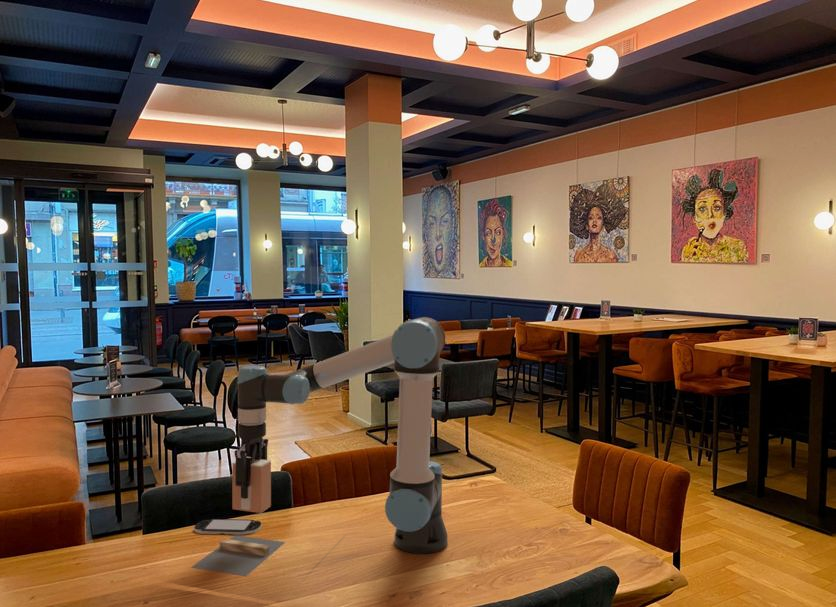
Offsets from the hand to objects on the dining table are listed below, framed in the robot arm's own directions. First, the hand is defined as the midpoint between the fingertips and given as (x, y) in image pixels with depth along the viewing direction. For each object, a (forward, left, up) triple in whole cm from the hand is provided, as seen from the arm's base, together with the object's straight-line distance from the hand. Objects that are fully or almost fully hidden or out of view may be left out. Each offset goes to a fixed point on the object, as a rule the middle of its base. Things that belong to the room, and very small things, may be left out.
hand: (251, 505), depth 166 cm
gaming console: (+13, -8, -13) cm, 20 cm away
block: (0, 0, -1) cm, 1 cm away
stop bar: (0, +4, -11) cm, 12 cm away
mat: (0, +6, -12) cm, 13 cm away
